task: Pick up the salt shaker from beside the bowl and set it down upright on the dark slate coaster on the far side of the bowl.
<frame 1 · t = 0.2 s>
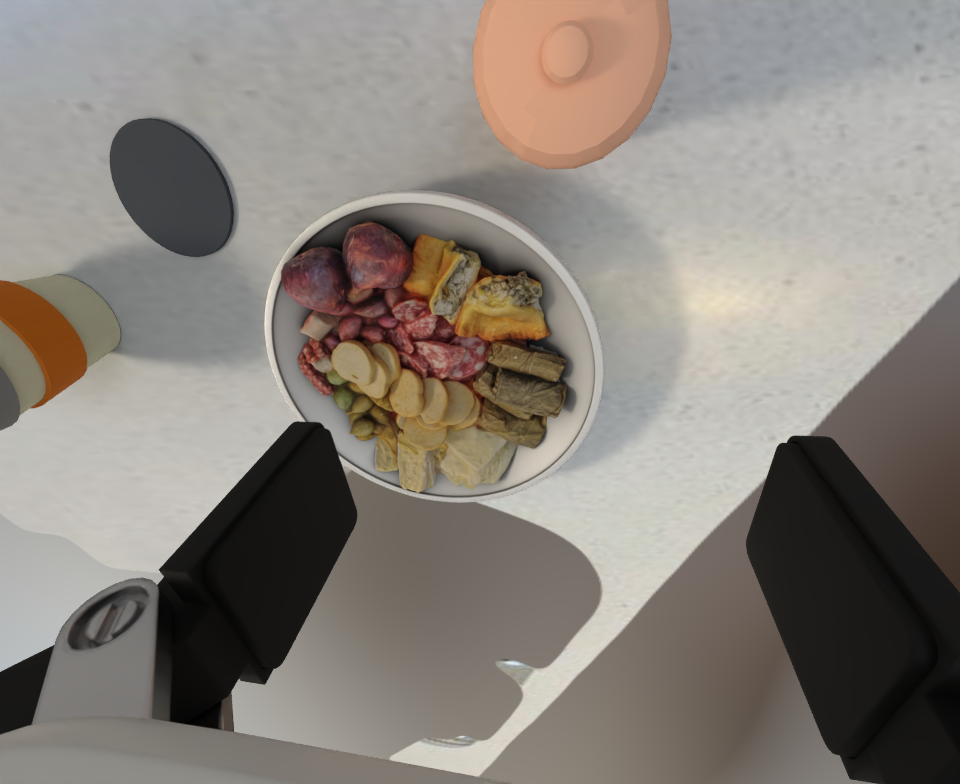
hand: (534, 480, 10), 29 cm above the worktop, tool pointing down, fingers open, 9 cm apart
bowl: (440, 352, 42), on the worktop
salt shaker: (568, 88, 30), on the worktop
coaster: (174, 192, 38), on the worktop
reusable coffee cup: (82, 314, 48), on the worktop
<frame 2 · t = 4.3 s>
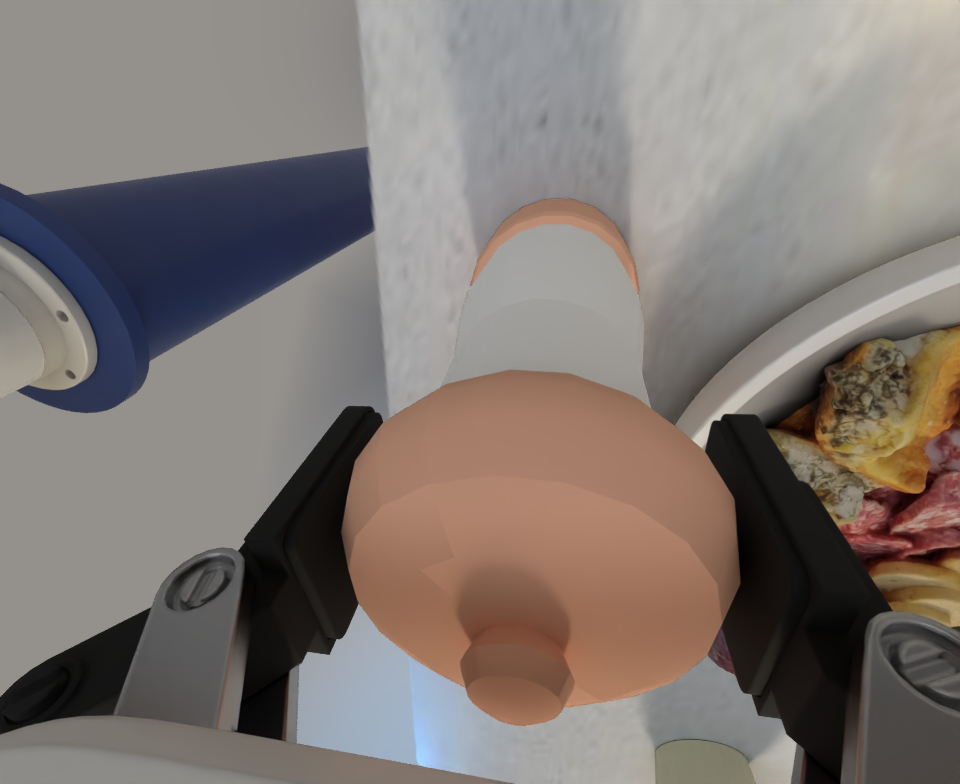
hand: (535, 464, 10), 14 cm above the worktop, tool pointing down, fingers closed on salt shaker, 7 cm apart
bowl: (917, 474, 24), on the worktop
salt shaker: (553, 275, 22), on the worktop, touching gripper
reusable coffee cup: (699, 757, 46), on the worktop
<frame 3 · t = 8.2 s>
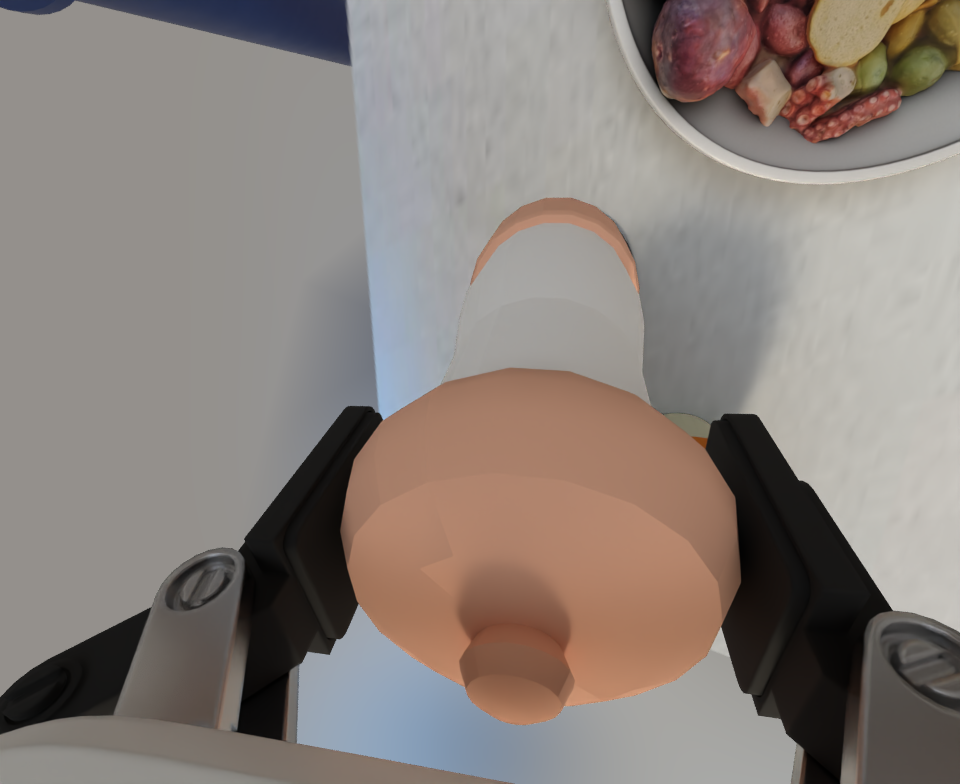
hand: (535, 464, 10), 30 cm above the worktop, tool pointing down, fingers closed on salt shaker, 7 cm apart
salt shaker: (553, 274, 22), point 16 cm above the worktop, touching gripper
reusable coffee cup: (671, 447, 45), on the worktop
when the fingers open (15 cm above the worktop, at t = 12.5 s): salt shaker stays where it is, resting on coaster.
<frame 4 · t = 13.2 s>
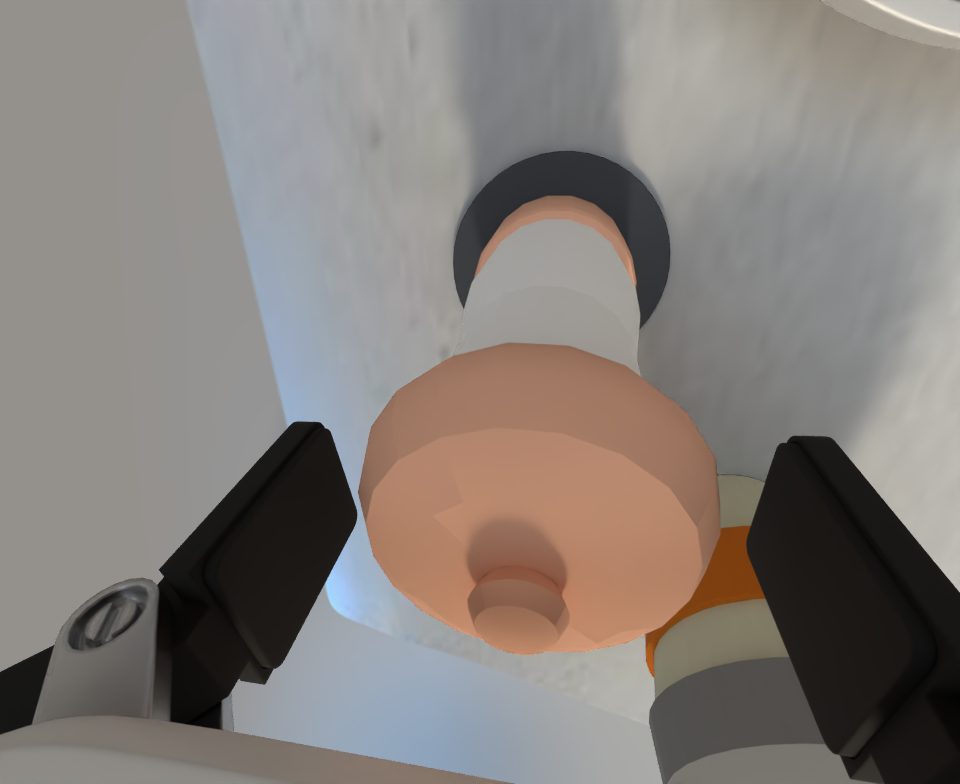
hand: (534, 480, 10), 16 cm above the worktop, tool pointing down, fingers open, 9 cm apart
salt shaker: (554, 269, 23), resting on coaster
coaster: (556, 270, 23), on the worktop
reusable coffee cup: (717, 521, 30), on the worktop
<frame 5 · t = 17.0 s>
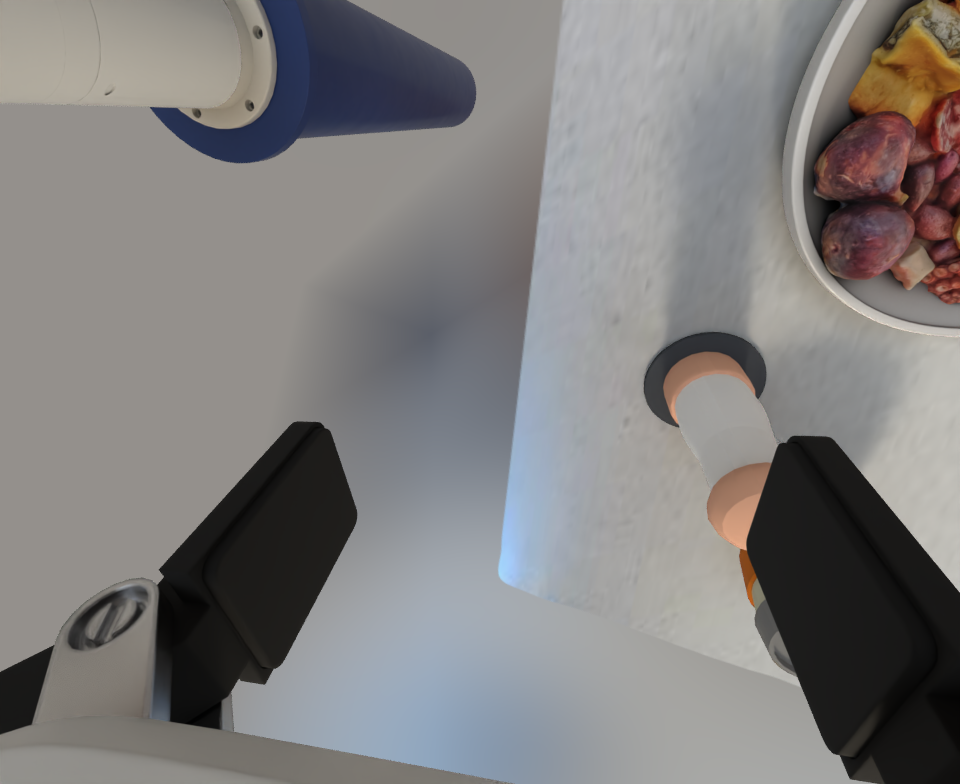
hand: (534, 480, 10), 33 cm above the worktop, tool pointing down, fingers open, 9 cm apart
salt shaker: (701, 383, 43), resting on coaster
coaster: (702, 382, 43), on the worktop
reusable coffee cup: (777, 516, 51), on the worktop
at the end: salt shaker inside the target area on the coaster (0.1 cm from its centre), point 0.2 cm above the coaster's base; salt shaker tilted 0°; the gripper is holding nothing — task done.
